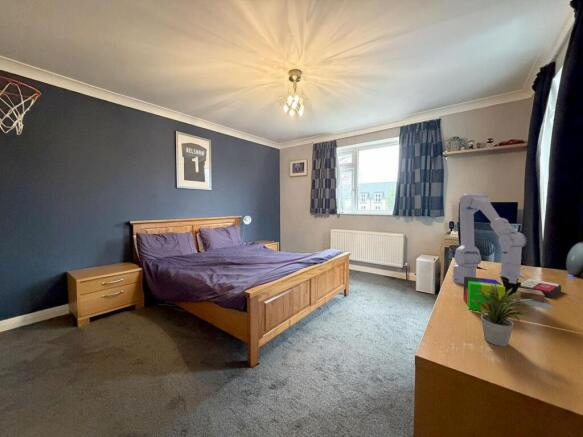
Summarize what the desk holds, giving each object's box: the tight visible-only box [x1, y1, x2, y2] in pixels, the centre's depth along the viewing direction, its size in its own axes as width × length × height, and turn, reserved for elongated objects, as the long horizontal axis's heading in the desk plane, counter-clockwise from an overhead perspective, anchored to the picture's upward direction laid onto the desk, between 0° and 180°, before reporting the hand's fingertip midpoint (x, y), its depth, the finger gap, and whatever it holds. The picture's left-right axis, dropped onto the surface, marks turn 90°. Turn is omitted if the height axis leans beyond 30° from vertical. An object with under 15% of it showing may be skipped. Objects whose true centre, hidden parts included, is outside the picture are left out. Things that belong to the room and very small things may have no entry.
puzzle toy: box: [462, 276, 505, 313], centre depth 91 cm, size 10×10×10 cm
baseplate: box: [510, 297, 555, 311], centre depth 100 cm, size 20×16×1 cm
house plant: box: [472, 283, 534, 347], centre depth 67 cm, size 14×14×16 cm
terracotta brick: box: [510, 290, 521, 303], centre depth 97 cm, size 6×4×4 cm, turn 54°
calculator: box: [519, 278, 562, 299], centre depth 108 cm, size 11×4×15 cm
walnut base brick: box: [517, 288, 546, 301], centre depth 100 cm, size 8×6×2 cm
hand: (509, 296), depth 97 cm, fingers open, 4 cm apart
